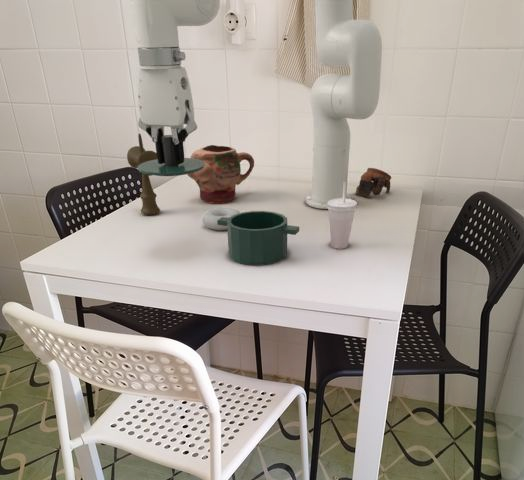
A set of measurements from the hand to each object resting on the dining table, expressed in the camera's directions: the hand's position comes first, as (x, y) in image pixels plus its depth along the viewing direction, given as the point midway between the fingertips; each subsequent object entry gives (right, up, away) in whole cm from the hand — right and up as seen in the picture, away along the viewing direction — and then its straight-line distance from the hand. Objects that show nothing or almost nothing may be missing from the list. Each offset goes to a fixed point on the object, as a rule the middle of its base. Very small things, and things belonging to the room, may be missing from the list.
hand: (171, 162), depth 103 cm
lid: (0, -1, 0) cm, 1 cm away
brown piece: (+51, +6, +43) cm, 67 cm away
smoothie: (+36, -15, +10) cm, 40 cm away
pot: (+18, -17, +7) cm, 26 cm away
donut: (+9, -7, +23) cm, 26 cm away
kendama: (-12, -2, +33) cm, 35 cm away
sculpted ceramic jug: (+7, +6, +43) cm, 44 cm away
